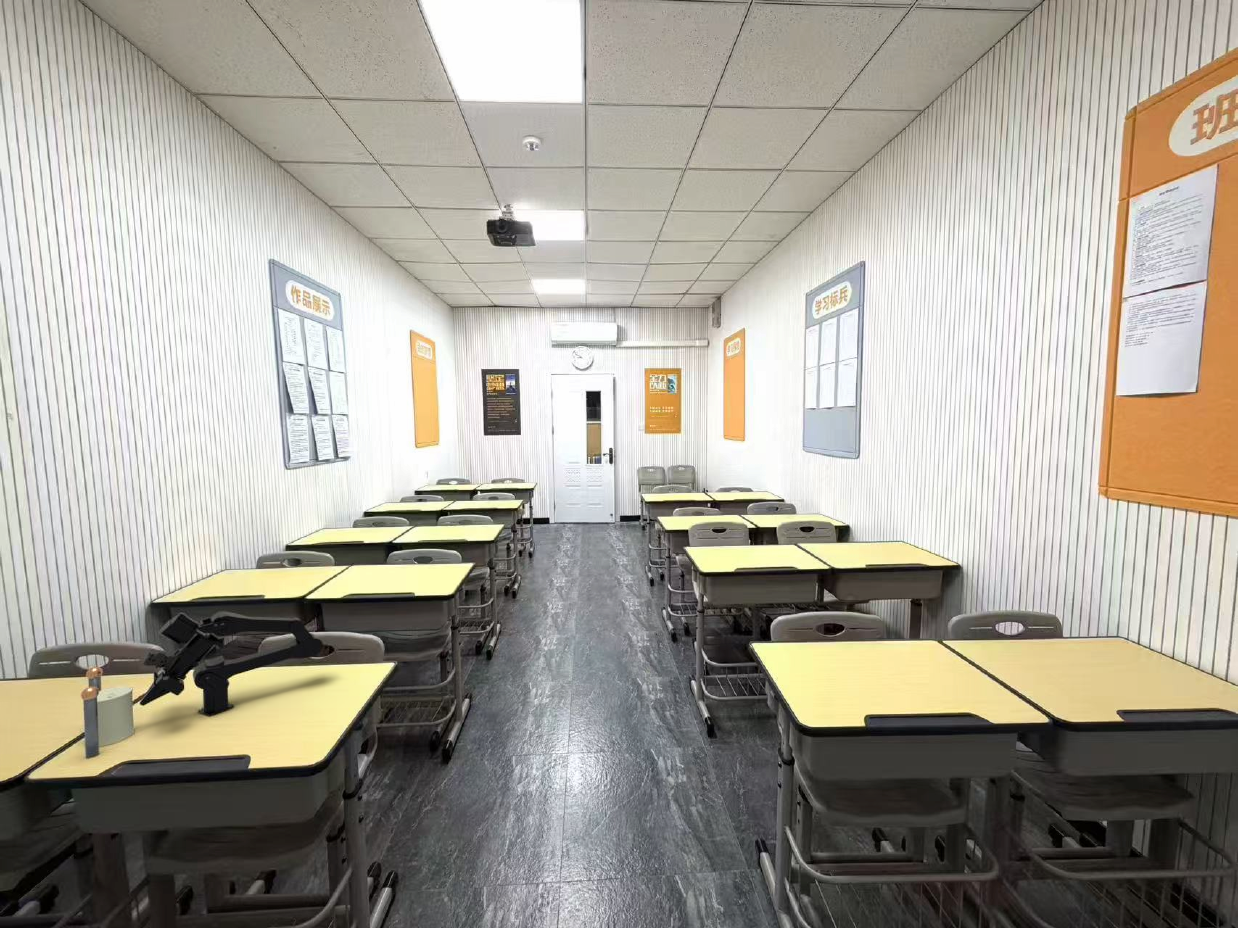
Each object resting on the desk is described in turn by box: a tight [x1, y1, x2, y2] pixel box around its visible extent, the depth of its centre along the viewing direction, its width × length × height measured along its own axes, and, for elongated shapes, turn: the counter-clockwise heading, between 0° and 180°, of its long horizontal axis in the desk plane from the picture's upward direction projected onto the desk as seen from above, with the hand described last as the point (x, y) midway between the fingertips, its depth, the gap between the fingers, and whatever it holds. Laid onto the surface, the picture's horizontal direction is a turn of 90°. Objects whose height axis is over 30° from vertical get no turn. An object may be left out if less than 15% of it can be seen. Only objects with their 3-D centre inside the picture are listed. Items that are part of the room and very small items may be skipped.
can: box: [97, 685, 135, 748], centre depth 140 cm, size 9×9×12 cm
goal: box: [80, 666, 104, 759], centre depth 138 cm, size 20×3×17 cm, turn 42°
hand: (141, 704), depth 144 cm, fingers closed
